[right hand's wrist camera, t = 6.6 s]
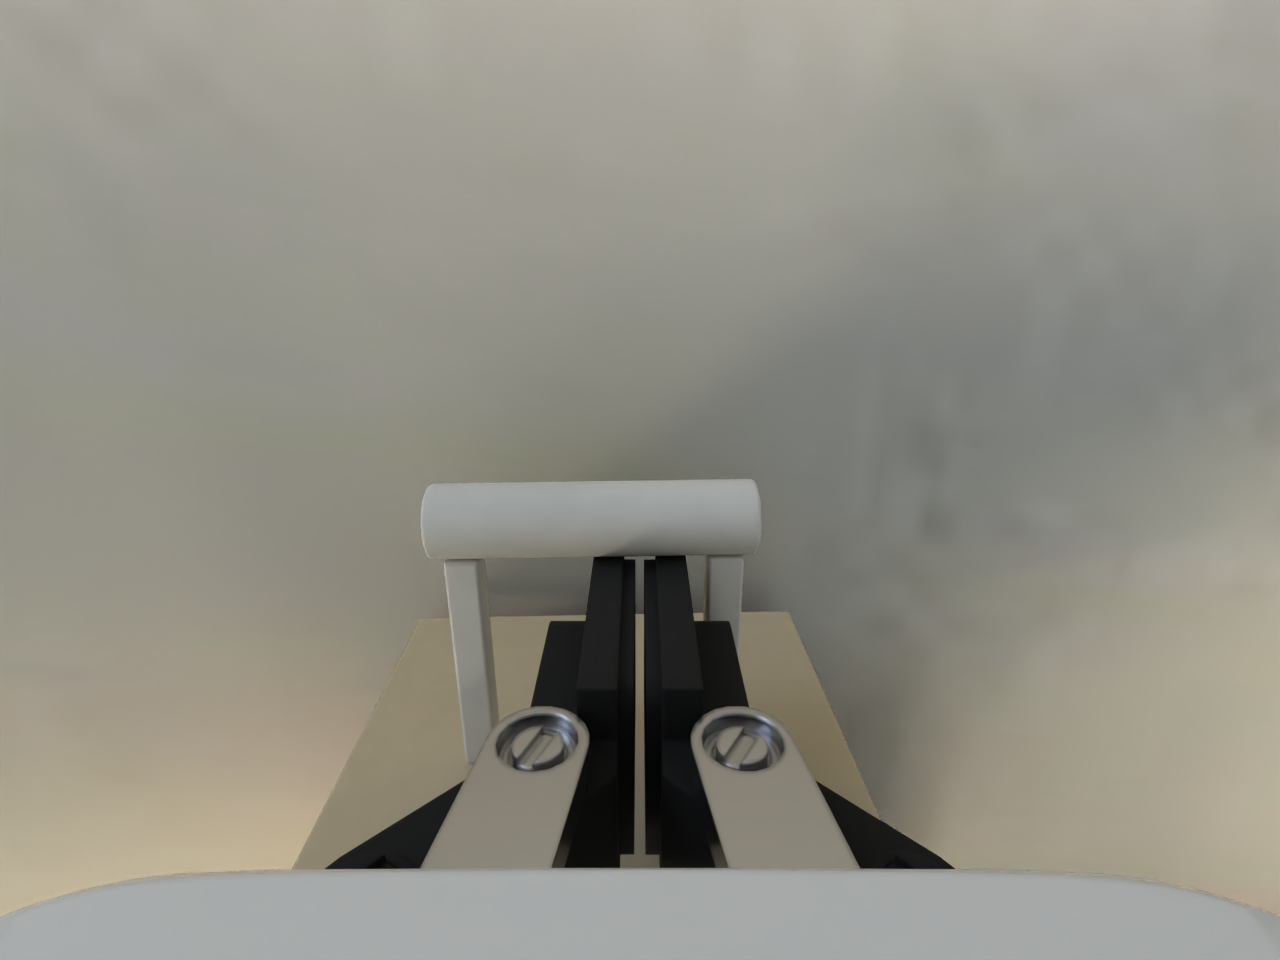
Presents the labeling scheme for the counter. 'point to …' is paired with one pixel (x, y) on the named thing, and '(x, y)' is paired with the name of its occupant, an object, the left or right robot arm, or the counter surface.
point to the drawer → (513, 645)
